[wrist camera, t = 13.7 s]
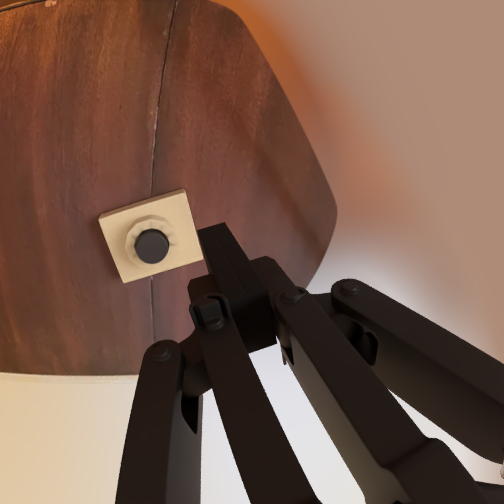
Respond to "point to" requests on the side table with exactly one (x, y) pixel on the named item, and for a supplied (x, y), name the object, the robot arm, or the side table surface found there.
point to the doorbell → (151, 218)
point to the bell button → (151, 247)
